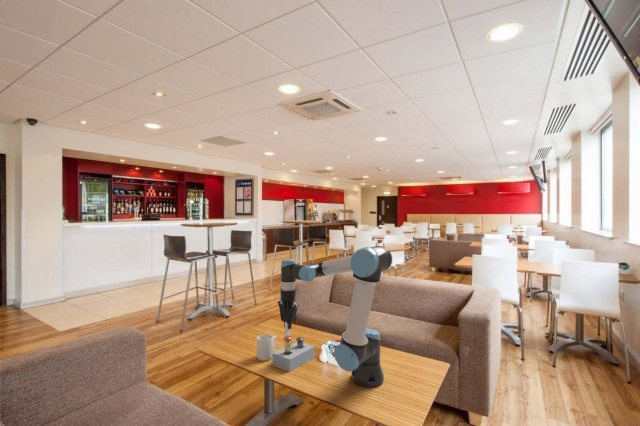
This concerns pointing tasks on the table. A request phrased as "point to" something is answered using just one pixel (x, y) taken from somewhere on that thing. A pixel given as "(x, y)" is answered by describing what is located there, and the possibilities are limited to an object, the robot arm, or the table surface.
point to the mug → (265, 347)
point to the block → (293, 357)
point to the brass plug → (287, 344)
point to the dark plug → (300, 342)
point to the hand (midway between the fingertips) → (287, 334)
